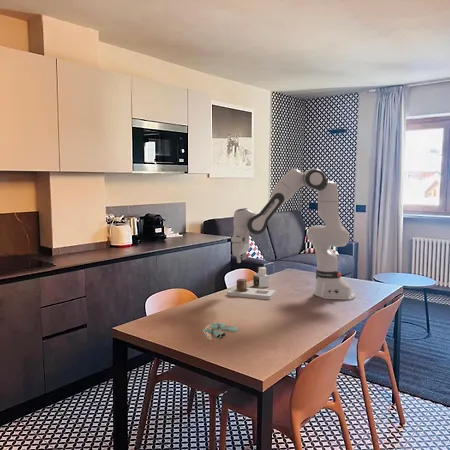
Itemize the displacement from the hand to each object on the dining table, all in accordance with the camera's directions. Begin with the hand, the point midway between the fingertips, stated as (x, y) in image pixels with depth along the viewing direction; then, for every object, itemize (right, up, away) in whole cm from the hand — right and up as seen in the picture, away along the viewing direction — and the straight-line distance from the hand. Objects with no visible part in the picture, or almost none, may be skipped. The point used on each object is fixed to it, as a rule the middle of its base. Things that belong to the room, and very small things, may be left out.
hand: (241, 261), depth 239 cm
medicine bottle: (+13, -17, +18) cm, 28 cm away
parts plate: (+6, -19, 0) cm, 20 cm away
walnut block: (0, -19, +2) cm, 19 cm away
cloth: (-11, -26, -59) cm, 65 cm away
